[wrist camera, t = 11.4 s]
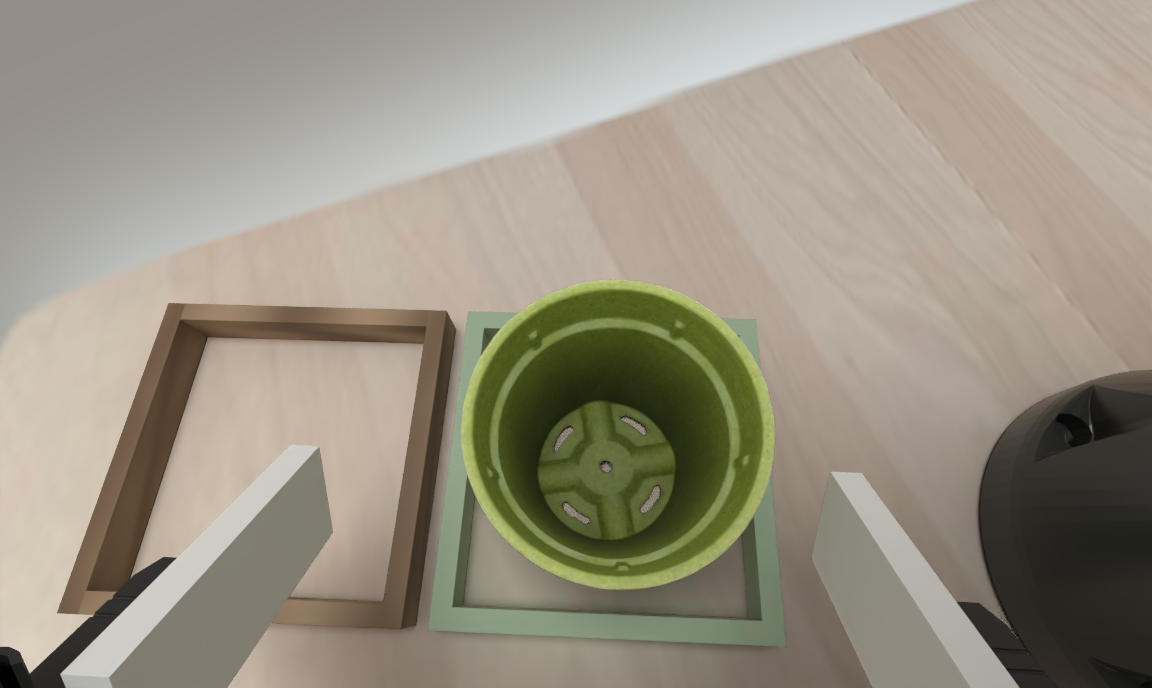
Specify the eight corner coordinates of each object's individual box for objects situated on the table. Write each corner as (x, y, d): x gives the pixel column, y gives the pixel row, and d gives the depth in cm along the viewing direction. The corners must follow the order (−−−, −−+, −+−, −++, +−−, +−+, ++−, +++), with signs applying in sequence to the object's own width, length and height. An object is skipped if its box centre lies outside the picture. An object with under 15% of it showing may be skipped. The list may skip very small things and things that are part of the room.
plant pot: (751, 437, 25) (828, 370, 17) (646, 636, 22) (679, 666, 14) (576, 335, 27) (571, 233, 19) (458, 503, 24) (395, 465, 16)
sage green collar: (744, 337, 27) (755, 319, 25) (769, 641, 22) (786, 646, 20) (476, 329, 28) (468, 311, 26) (440, 626, 22) (427, 630, 21)
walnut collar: (456, 329, 28) (446, 310, 26) (415, 625, 22) (400, 629, 21) (196, 321, 28) (168, 303, 26) (99, 610, 23) (56, 613, 21)
